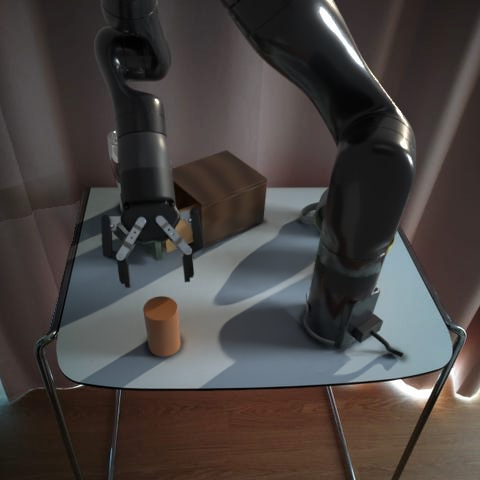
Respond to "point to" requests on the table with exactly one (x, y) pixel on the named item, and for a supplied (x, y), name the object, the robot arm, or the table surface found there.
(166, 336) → the orange cylinder
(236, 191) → the cabinet
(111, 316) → the table surface
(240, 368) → the table surface
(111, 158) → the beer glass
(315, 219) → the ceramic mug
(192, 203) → the drawer
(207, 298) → the table surface
